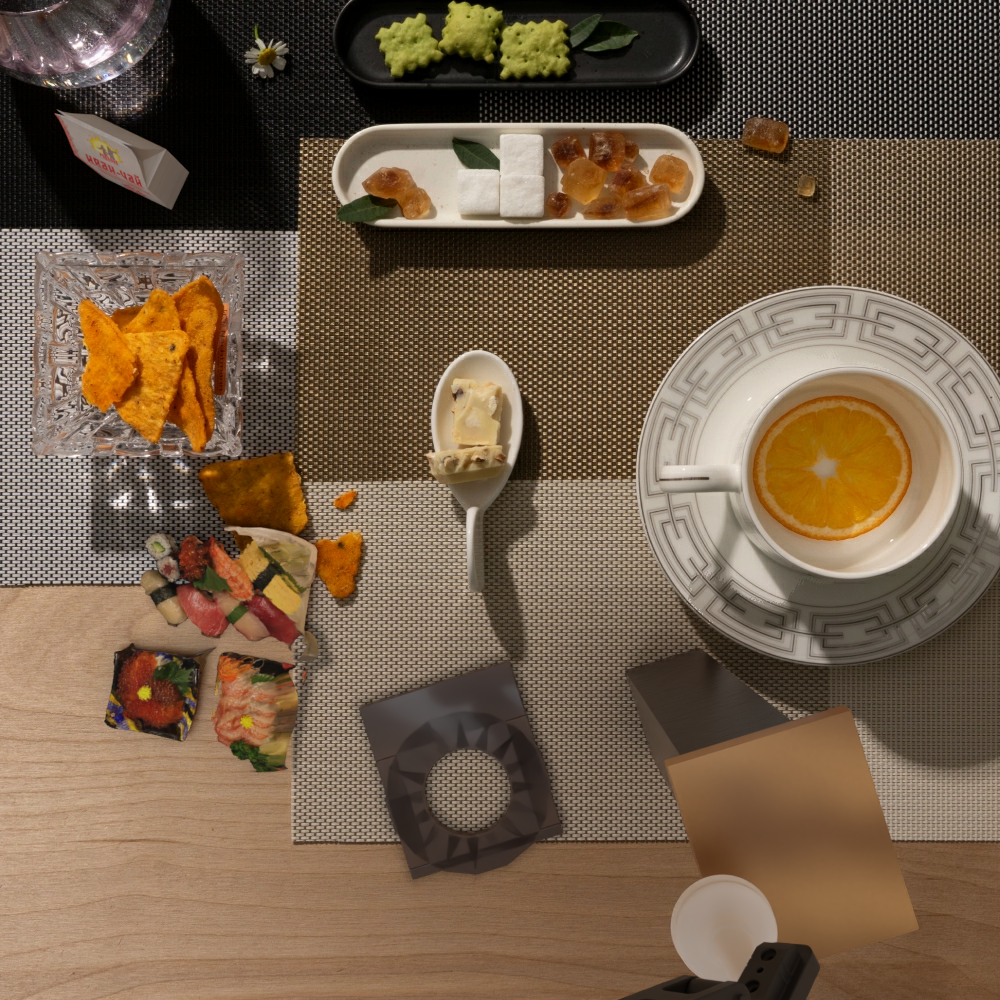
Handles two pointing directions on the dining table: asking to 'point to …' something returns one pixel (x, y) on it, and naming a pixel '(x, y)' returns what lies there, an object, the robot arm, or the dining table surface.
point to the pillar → (694, 705)
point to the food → (235, 599)
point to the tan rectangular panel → (798, 830)
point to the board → (447, 728)
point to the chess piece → (721, 926)
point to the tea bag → (125, 157)
